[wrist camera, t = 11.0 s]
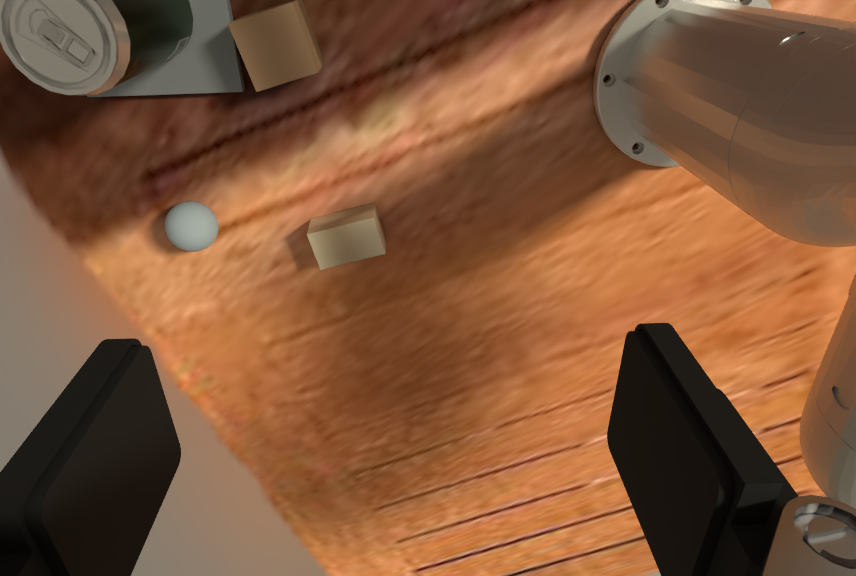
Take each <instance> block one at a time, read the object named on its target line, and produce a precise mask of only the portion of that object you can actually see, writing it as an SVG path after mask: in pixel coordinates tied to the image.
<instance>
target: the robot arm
mask: <svg viewBox="0 0 856 576" xmlns="http://www.w3.org/2000/svg"><path fill="white" fill-rule="evenodd" d="M606 75H608V80H607V81H605V82H603V79H604V77H605V76H606ZM593 100H594V105H595V110H596V114H597V118H598V120H599V122H600V124H601V127H602V129H603V131H604V132H605V134H606V135H607V136H608V138H609V139H610V140H611V142H612V143H613V144H614V145H615V146H617V147H618V148H619V149H620V150H621V151H622V152H623V153H625V154H626V155H628V156H629V157H631V158H632V159H634V160H637V161H640V162H642V163H645V164H647V165H653V166H660V167H675V166H682V167H684V168H685V169H686V170H688V171H689V172H691V173H692V174H693V175H695V176H696V177H697V178H699V179H700V180H702V181H703V182H704V183H706V184H707V185H708V186H710V187H711V188H713V189H714V190H715V191H717V192H718V193H719V194H721V195H722V196H723V197H725V198H726V199H728V200H729V201H730V202H732V203H733V204H734V205H736V206H737V207H739V208H740V209H741V210H743V211H744V212H746V213H747V214H749V215H750V216H752V217H753V218H754V219H756V220H757V221H759V222H760V223H761V224H763V225H764V226H766V227H767V228H769V229H770V230H772V231H774V232H775V233H777V234H779V235H781V236H783V237H785V238H788V239H790V240H793V241H796V242H799V243H803V244H808V245H814V246H821V247H849V246H856V22H853V21H846V20H839V19H833V18H826V17H820V16H813V15H807V14H800V13H794V12H787V11H781V10H774V9H773V8H772V6H771V4H770V2H769V1H768V0H660V1H659V2H658V3H657V4H655V0H636V1H635V2H634V3H633V4H632V5H631V6H630V7H629V8H627V9H626V10H625V11H624V13H623V14H622V15H621V17H620V18H619V19H618V21H617V22H616V23H615V25H614V26H613V27H612V29H611V31H610V33H609V35H608V36H607V38H606V40H605V42H604V44H603V46H602V49H601V52H600V55H599V57H598V60H597V63H596V68H595V74H594V81H593ZM635 143H637V144H636V146H635V147H634V148H632V147H633V145H634V144H635ZM607 439H608V446H609V449H610V452H611V455H612V457H613V459H614V462H615V464H616V467H617V469H618V472H619V474H620V476H621V479H622V481H623V484H624V486H625V489H626V491H627V493H628V496H629V498H630V501H631V503H632V506H633V508H634V510H635V513H636V515H637V518H638V520H639V523H640V525H641V527H642V530H643V532H644V535H645V537H646V540H647V542H648V544H649V547H650V549H651V552H652V554H653V557H654V559H655V561H656V564H657V566H658V569H659V571H660V574H661V576H856V274H855V276H854V279H853V281H852V284H851V286H850V289H849V297H848V299H847V302H846V304H845V307H844V309H843V311H842V314H841V316H840V319H839V321H838V323H837V326H836V328H835V331H834V333H833V335H832V338H831V340H830V343H829V345H828V347H827V350H826V352H825V355H824V357H823V359H822V362H821V364H820V367H819V369H818V371H817V374H816V377H815V379H814V381H813V384H812V386H811V389H810V391H809V394H808V397H807V400H806V403H805V406H804V409H803V413H802V416H801V422H800V446H801V451H802V456H803V459H804V462H805V464H806V466H807V468H808V470H809V472H810V474H811V476H812V478H813V479H814V481H815V482H816V484H817V485H818V486H819V488H820V489H821V490H822V491H823V492H824V494H825V495H826V496H827V497H823V496H815V495H807V496H798V495H797V494H796V492H795V491H794V489H793V488H792V487H791V485H790V484H789V482H788V481H787V480H786V478H785V477H784V476H783V474H782V473H781V471H780V470H779V469H778V467H777V466H776V464H775V463H774V462H773V460H772V459H771V458H770V456H769V455H768V453H767V452H766V451H765V449H764V448H763V446H762V445H761V444H760V442H759V441H758V440H757V438H756V437H755V435H754V434H753V433H752V431H751V430H750V428H749V427H748V426H747V424H746V423H745V422H744V420H743V419H742V417H741V416H740V415H739V413H738V412H737V410H736V409H735V408H734V406H733V405H732V404H731V402H730V401H729V399H728V398H727V397H726V395H725V394H724V393H723V392H722V391H721V390H719V389H717V388H716V387H715V386H714V384H713V383H712V381H711V380H710V379H709V377H708V376H707V374H706V373H705V372H704V370H703V369H702V367H701V366H700V365H699V363H698V362H697V360H696V359H695V358H694V356H693V355H692V353H691V352H690V351H689V349H688V348H687V346H686V345H685V344H684V342H683V341H682V339H681V338H680V337H679V335H678V334H677V332H676V331H675V330H674V328H673V327H672V326H671V325H670V324H669V323H649V324H639V325H637V327H636V328H635V331H630V332H628V333H627V335H626V339H625V344H624V349H623V355H622V360H621V365H620V370H619V375H618V380H617V385H616V391H615V396H614V401H613V406H612V411H611V416H610V421H609V427H608V433H607ZM180 458H181V448H180V443H179V440H178V437H177V434H176V431H175V427H174V424H173V421H172V417H171V414H170V411H169V408H168V404H167V401H166V398H165V395H164V391H163V389H162V385H161V382H160V379H159V375H158V372H157V369H156V366H155V363H154V359H153V356H152V353H151V350H150V348H149V347H148V346H142V345H141V343H140V341H139V340H137V339H106V340H104V341H102V342H101V343H100V344H99V345H98V347H97V348H96V349H95V351H94V352H93V353H92V354H91V356H90V357H89V358H88V359H87V361H86V362H85V364H84V365H83V366H82V367H81V369H80V370H79V371H78V373H77V374H76V375H75V376H74V378H73V379H72V380H71V382H70V383H69V384H68V385H67V387H66V388H65V389H64V391H63V392H62V393H61V395H60V396H59V397H58V398H57V400H56V401H55V403H54V404H53V405H52V406H51V407H50V409H49V410H48V411H47V413H46V414H45V415H44V416H43V418H42V419H41V420H40V422H39V423H38V424H37V426H36V427H35V428H34V429H33V431H32V432H31V433H30V435H29V436H28V437H27V439H26V440H25V441H24V442H23V444H22V445H21V446H20V448H19V449H18V450H17V452H16V453H15V454H14V455H13V457H12V458H11V459H10V461H9V462H8V463H7V465H6V466H5V467H4V468H3V470H2V471H1V472H0V576H131V573H132V571H133V569H134V566H135V564H136V562H137V560H138V557H139V555H140V553H141V550H142V548H143V546H144V544H145V541H146V539H147V537H148V534H149V532H150V530H151V528H152V525H153V523H154V521H155V518H156V516H157V514H158V512H159V509H160V507H161V505H162V502H163V500H164V498H165V496H166V493H167V491H168V489H169V486H170V484H171V482H172V479H173V477H174V475H175V473H176V470H177V468H178V466H179V463H180Z"/></svg>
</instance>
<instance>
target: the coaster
mask: <svg viewBox="0 0 856 576" xmlns="http://www.w3.org/2000/svg"><path fill="white" fill-rule="evenodd" d="M189 2H190V6H191V10H192V14H193V31H192V35H191V37H190V40H189V42H188V44H187V46H186V47H185V48H184V49H183V50H182V51H181V52H180V53H179V54H178V55H176V56H174V57H172V58H170V59H168V60H166V61H164V62H162V63H160V64H158V65H156V66H154V67H152V68H150V69H148V70H146V71H144V72H142V73H140V74H138V75H136V76H134V77H132V78H131V79H129V80H127V81H125V82H123V83H121V84H119V85H117V86H115V87H113V88H111V89H108V90H106V91H104V92H102V93H99V94H97V95H87V97H110V96H139V95H168V94H196V93H225V92H243V91H244V90H245V85H244V80H243V74H242V68H241V62H240V56H239V50H238V47H237V45H236V42H235V40H234V38H233V35H232V33H231V31H230V28H229V26H228V24H227V23H229V22H232V21H233V16H232V10H231V4H230V0H189Z"/></svg>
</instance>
